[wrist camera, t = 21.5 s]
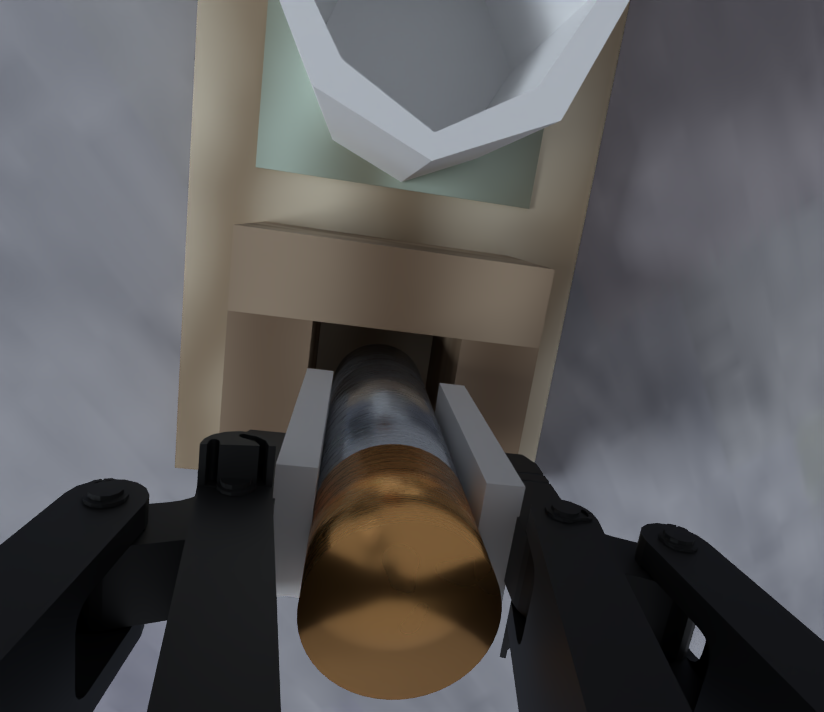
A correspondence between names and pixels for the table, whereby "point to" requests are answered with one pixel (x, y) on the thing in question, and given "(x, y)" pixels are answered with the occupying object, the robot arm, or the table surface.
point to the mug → (444, 72)
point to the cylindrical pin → (392, 542)
